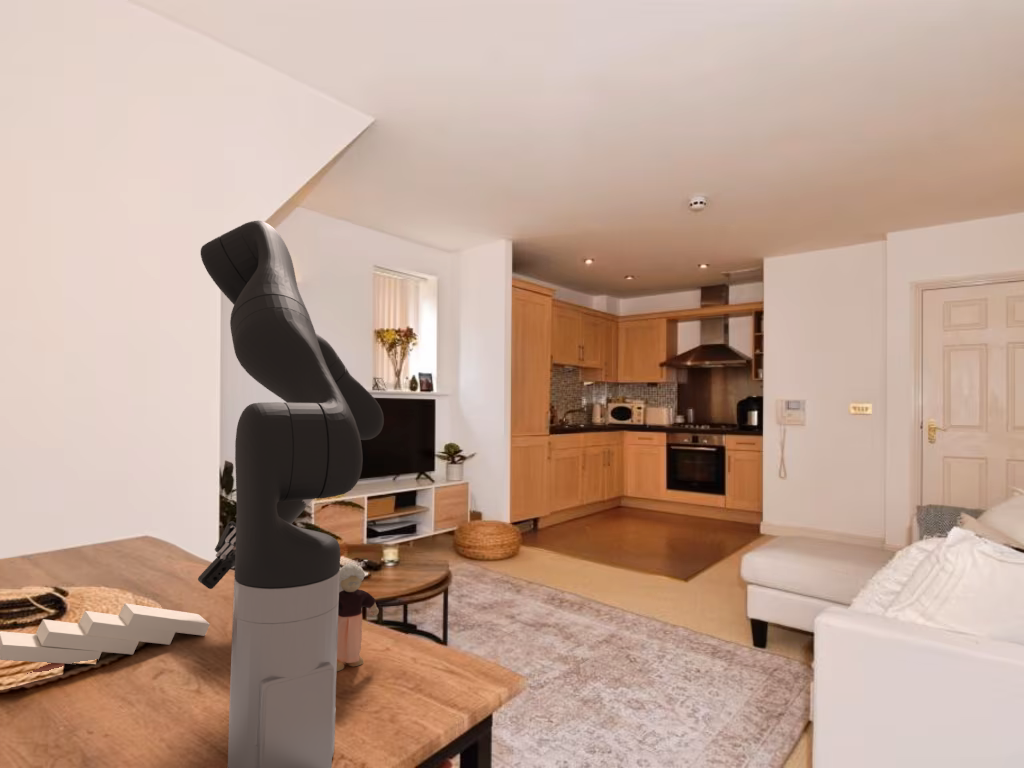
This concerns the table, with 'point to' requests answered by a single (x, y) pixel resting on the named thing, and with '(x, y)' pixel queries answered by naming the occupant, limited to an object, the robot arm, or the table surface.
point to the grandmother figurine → (351, 615)
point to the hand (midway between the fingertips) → (203, 584)
